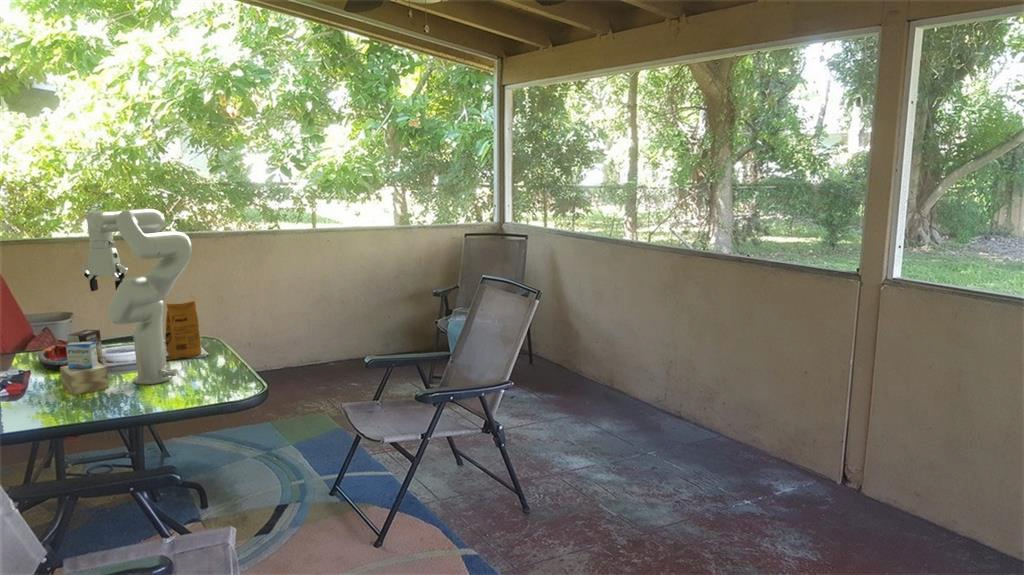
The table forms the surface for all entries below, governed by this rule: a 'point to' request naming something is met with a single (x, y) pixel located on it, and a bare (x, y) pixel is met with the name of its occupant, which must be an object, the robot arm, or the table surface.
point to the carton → (84, 382)
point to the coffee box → (88, 340)
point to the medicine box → (81, 355)
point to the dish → (54, 357)
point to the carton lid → (81, 371)
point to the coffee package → (182, 330)
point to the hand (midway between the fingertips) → (107, 290)
